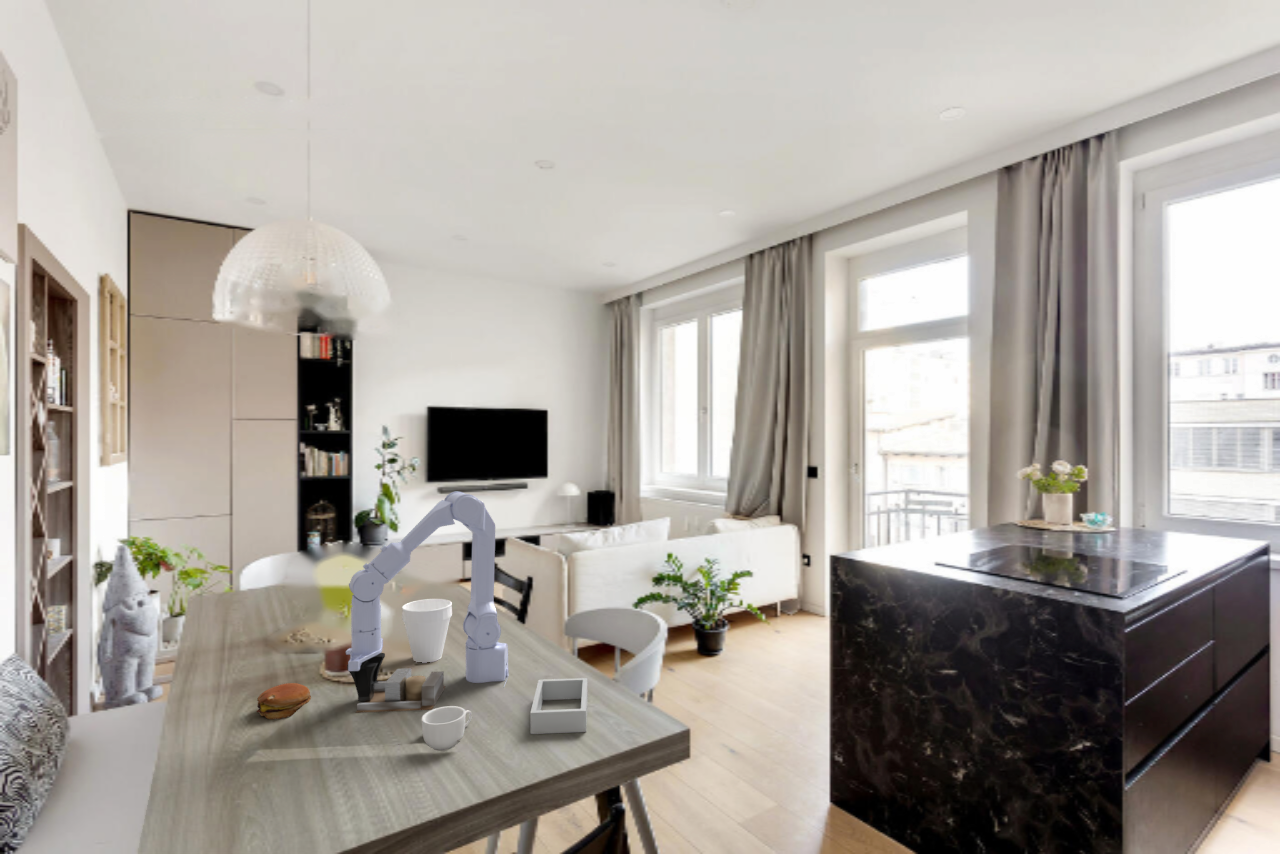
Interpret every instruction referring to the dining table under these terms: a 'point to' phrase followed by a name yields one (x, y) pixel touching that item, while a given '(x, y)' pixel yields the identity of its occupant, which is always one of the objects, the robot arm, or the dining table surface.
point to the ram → (391, 686)
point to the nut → (414, 688)
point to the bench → (429, 698)
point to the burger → (282, 700)
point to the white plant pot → (427, 627)
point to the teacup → (444, 726)
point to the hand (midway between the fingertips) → (366, 693)
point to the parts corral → (564, 717)
